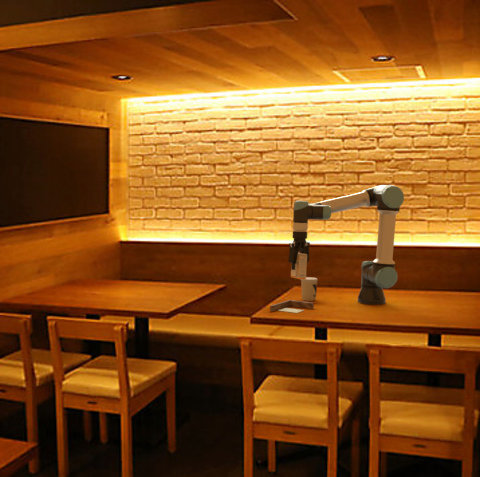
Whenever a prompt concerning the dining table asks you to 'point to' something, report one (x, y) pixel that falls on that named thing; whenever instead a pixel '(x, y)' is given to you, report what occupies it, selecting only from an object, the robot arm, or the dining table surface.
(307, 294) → the coffee cup
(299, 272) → the supplement box
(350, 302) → the dining table surface
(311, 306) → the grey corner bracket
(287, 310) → the pad
